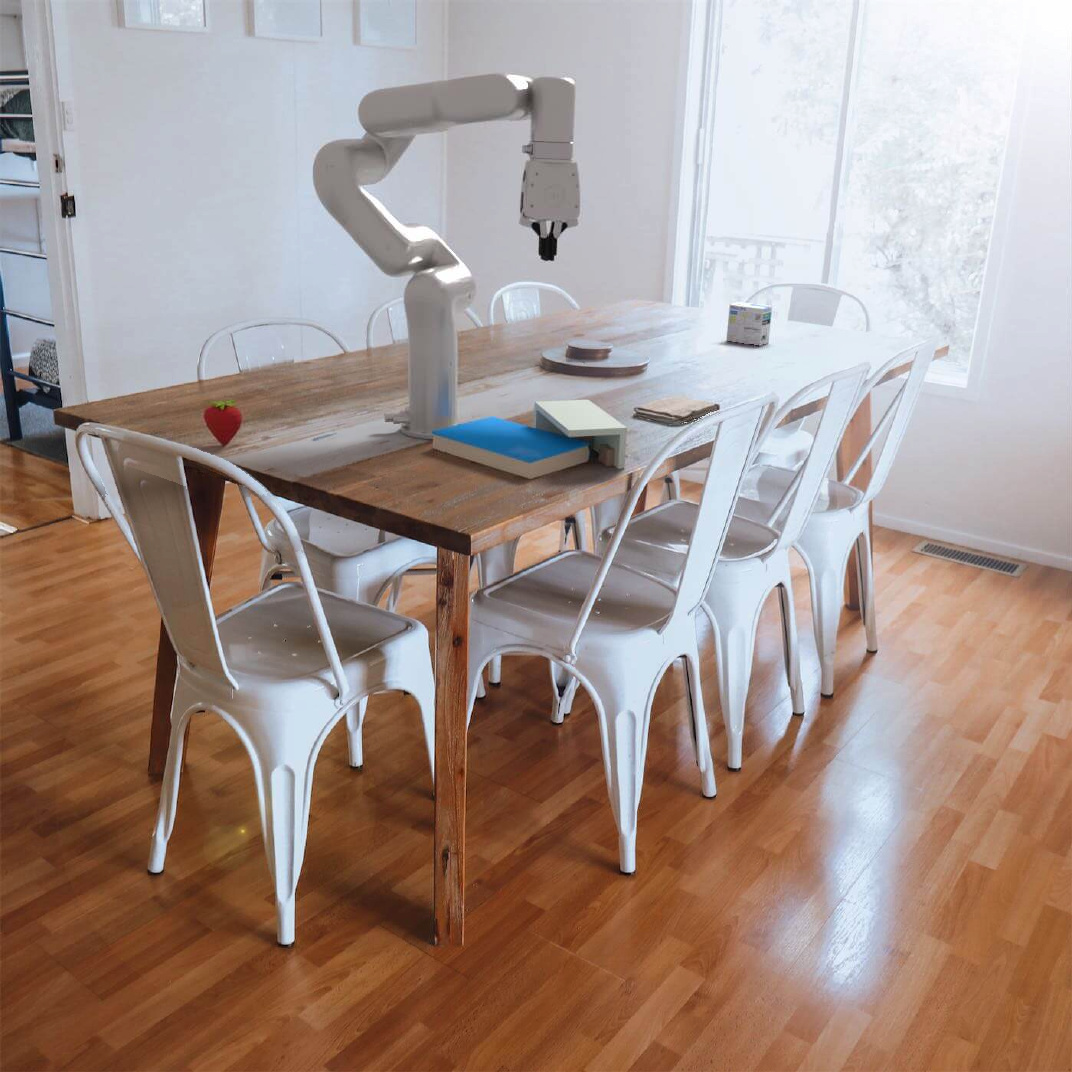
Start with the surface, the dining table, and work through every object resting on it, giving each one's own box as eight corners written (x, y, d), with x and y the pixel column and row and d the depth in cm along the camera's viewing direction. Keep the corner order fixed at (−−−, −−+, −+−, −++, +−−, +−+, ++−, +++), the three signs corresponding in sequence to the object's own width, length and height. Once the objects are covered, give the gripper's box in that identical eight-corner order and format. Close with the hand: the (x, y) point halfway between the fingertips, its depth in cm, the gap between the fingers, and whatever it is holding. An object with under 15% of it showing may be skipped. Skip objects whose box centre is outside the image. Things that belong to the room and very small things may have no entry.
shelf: (566, 471, 202) (569, 430, 199) (533, 440, 221) (534, 401, 218) (624, 468, 205) (627, 427, 203) (586, 437, 224) (588, 399, 221)
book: (531, 460, 196) (430, 429, 211) (530, 484, 198) (430, 451, 213) (592, 442, 208) (493, 413, 223) (590, 464, 210) (492, 434, 225)
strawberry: (219, 438, 214) (216, 386, 210) (251, 444, 211) (248, 392, 207) (197, 445, 209) (194, 392, 205) (230, 452, 206) (226, 398, 202)
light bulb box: (769, 343, 325) (773, 305, 321) (760, 346, 319) (764, 308, 315) (734, 338, 330) (738, 301, 326) (725, 341, 324) (729, 303, 321)
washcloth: (629, 418, 241) (630, 404, 240) (673, 404, 254) (674, 391, 253) (677, 429, 234) (678, 414, 233) (720, 414, 248) (721, 400, 246)
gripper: (516, 152, 192) (513, 263, 198) (598, 155, 196) (593, 262, 203) (504, 151, 199) (501, 257, 205) (584, 153, 203) (579, 257, 209)
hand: (547, 259), depth 204 cm, fingers closed
